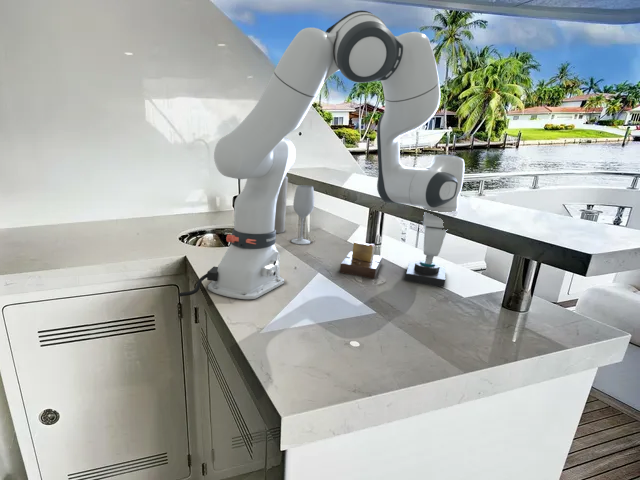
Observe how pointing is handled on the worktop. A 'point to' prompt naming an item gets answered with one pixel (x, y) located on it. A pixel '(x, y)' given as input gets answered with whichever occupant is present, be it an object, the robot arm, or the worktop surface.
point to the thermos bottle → (281, 207)
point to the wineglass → (303, 207)
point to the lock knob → (363, 251)
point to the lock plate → (360, 266)
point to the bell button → (427, 264)
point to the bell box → (426, 274)
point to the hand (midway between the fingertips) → (428, 262)
